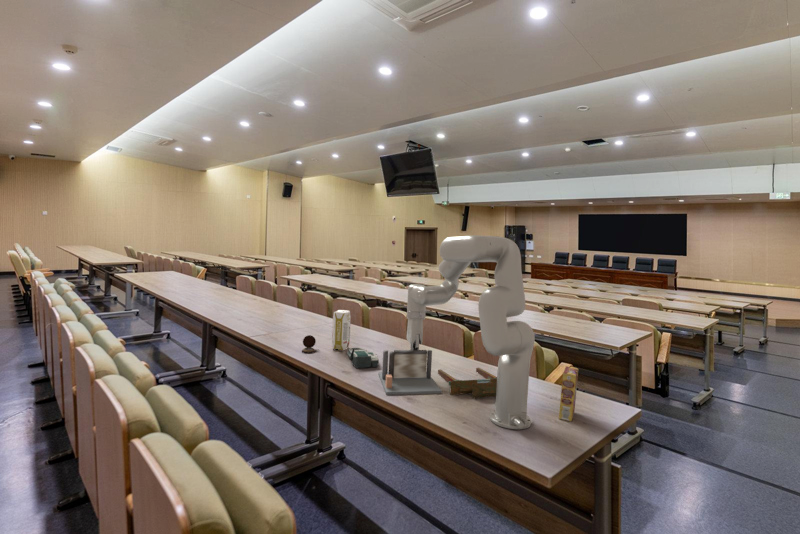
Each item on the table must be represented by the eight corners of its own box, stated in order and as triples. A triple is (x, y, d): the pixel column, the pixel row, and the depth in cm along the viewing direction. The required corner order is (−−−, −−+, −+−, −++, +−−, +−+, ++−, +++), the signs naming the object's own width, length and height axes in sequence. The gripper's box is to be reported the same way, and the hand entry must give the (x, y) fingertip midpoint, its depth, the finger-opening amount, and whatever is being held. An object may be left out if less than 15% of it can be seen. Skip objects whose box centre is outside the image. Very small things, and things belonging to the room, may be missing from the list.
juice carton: (350, 347, 206) (351, 310, 205) (345, 351, 198) (346, 313, 196) (336, 345, 207) (337, 309, 206) (330, 350, 199) (331, 311, 198)
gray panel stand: (441, 393, 148) (443, 361, 147) (386, 394, 144) (387, 361, 143) (426, 373, 169) (428, 345, 169) (378, 374, 166) (379, 345, 165)
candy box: (572, 422, 128) (576, 375, 127) (558, 419, 130) (561, 372, 129) (575, 412, 136) (578, 368, 135) (561, 409, 138) (564, 365, 137)
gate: (388, 378, 157) (390, 351, 157) (388, 376, 159) (389, 350, 159) (426, 377, 160) (427, 351, 159) (424, 375, 162) (425, 349, 161)
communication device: (367, 353, 198) (368, 335, 197) (379, 368, 175) (380, 348, 174) (343, 354, 194) (344, 336, 194) (352, 369, 171) (353, 349, 171)
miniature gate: (487, 363, 176) (526, 382, 147) (487, 376, 176) (526, 397, 147) (429, 366, 169) (458, 386, 140) (428, 379, 169) (457, 402, 140)
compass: (301, 353, 191) (302, 338, 191) (302, 349, 199) (303, 334, 198) (318, 353, 192) (319, 338, 192) (319, 349, 200) (319, 334, 200)
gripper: (403, 311, 170) (401, 354, 172) (410, 318, 156) (408, 365, 157) (421, 311, 172) (419, 354, 173) (429, 318, 157) (427, 365, 158)
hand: (414, 359), depth 165 cm, fingers closed
